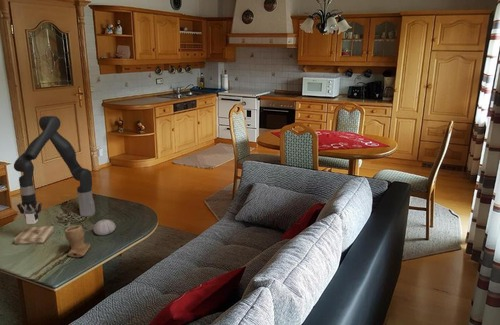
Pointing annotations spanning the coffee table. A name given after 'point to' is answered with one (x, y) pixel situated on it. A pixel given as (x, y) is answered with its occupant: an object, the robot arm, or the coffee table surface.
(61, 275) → the coffee table surface
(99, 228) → the sea urchin shell
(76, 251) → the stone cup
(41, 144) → the robot arm
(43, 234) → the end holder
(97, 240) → the coffee table surface
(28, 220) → the connector plug
